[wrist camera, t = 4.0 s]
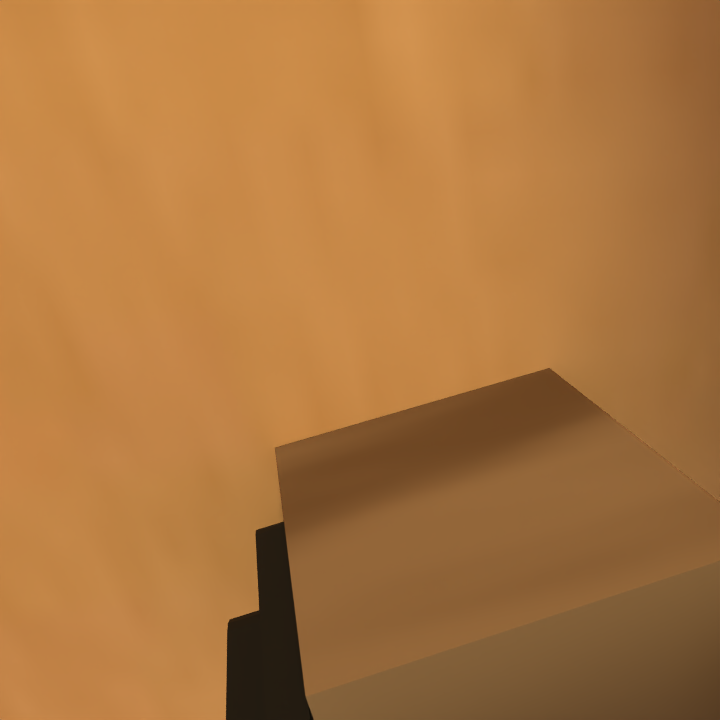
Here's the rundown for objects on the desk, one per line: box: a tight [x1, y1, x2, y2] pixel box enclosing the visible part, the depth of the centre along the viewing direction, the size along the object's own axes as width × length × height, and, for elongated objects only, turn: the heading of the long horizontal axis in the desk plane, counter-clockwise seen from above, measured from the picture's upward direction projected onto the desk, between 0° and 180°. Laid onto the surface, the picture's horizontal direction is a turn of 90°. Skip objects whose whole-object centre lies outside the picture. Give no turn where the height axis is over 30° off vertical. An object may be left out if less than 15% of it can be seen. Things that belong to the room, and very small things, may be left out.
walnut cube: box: [275, 368, 720, 720], centre depth 10 cm, size 5×5×5 cm
